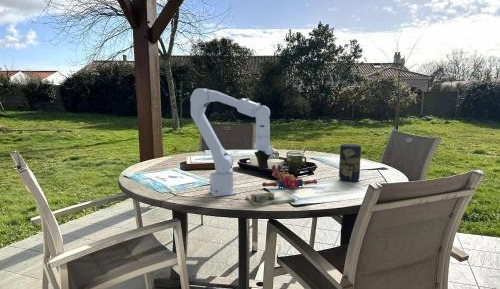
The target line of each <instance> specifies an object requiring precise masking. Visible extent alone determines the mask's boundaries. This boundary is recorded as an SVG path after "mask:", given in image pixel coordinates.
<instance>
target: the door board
mask: <svg viewBox="0 0 500 289" xmlns="http://www.w3.org/2000/svg"><path fill="white" fill-rule="evenodd" d="M273 193H274V199H266V195H256V201H252V200H251V194H248V195H245V199H247V200H248V201H249V202H250V203H251V204H253V205H254V206H255V207H260V206H268V205H276V204H285V203H293V202H292V201H295V202H296V198H294V197H292V195H289V194H287V193H286V192H284V191H276V192H273Z"/></svg>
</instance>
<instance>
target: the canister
mask: <svg viewBox="0 0 500 289" xmlns="http://www.w3.org/2000/svg"><path fill="white" fill-rule="evenodd" d="M361 156H362V147H361V145H360V144H356V143H352V142H350V143H343V144H341V145H340V147H339V163H338V164H339V166H338V178H339V179H340V180H341V181H346V182H357V181H359V179H360V177H361V174H360V173H361Z"/></svg>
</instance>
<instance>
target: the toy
mask: <svg viewBox="0 0 500 289" xmlns="http://www.w3.org/2000/svg"><path fill="white" fill-rule="evenodd" d="M276 168H277V170H276ZM280 170H281V171H282V172H279V171H280ZM272 171H273V172H272ZM271 172H272V173H271V176H272V177H274V178H275V179H277V180H278V181H277V182H262V183H261V185H262V187H265V188H266V187H274V188H275V187H278V189H279V188H280V187H281V188H282V187H283V188H284V187H285V189H286V188H290V189H297V187H299V186H302V187H303V186H304V185H305V186H307V185H312V184H313V185H314V184H316V185H317V184H318V180H317V179H313V180H303V179H302V178H296V177H295V175H294V174H290V173H289V172H288V171H286V169H282V166H281V164H278V165H277V167H276V165H274V164H272V166H271ZM281 188H280V189H281Z"/></svg>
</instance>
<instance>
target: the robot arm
mask: <svg viewBox="0 0 500 289" xmlns="http://www.w3.org/2000/svg"><path fill="white" fill-rule="evenodd" d="M189 99H190V101H189V102H190V116H191V118H192V120H193V122H194V123H195V126H196V127H197V130H199V132H200V134H201V137H202V138H203V140H204V142H205V144H206V145H207V147H208V149H209V151H210V154H211V157H212V160H213V163H214V169H215V170H214V172H211V173H209V191H208V192H209V193H210V194H211V195H212V196H213V197H223V196H224V197H225V196H233V195H237V192H236V191H235V190H234V170H233V168H232V167H233V164H234V158H233V157H232V155H230V154H229V153H228V152H227V150H226V148H224V147H223V146H222V144H221V142H220V140H219V138H218V137H217V134H216V132H215V131H214V129H213V127H212V125H211V123H210V121H209V120H208V118H207V116H206V114H205V112H206V109H207V106H208V105H209V104H210V103H212V102H219V103H222V104H225V105H228V106H231V107H234V108H236V109H237V112H238V113H239V114H240V113H241V114H243V115H246V116H249V117H252V118H254V117H255V140H254V141H255V144H253V150H256V151H254V152H253V153H254V156H255V157H256V160H257V164H258V169H259V170H260V171H261V170H262V171H264V170H266V169H267V164H268V161H269V158H270V156H271V155H273V146H271V145H270V143H271V142H270V141H271V140H270V139H271V138H270V137H271V134H270V133H271V131H270V130H271V124H270V123H271V121H270V116H271V110H270V108H269V107H268V106H266V105H264V104H262V105H261V103H260V102H255V101H252V100H250V98H249V97H246V98H240V99H236V98H235V97H232V96H229V95H228V94H225V93H222V92H220V91H218V90H212V89H209V88H195V89H194V90H193V92H192V93H191V96H190V98H189Z"/></svg>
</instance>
